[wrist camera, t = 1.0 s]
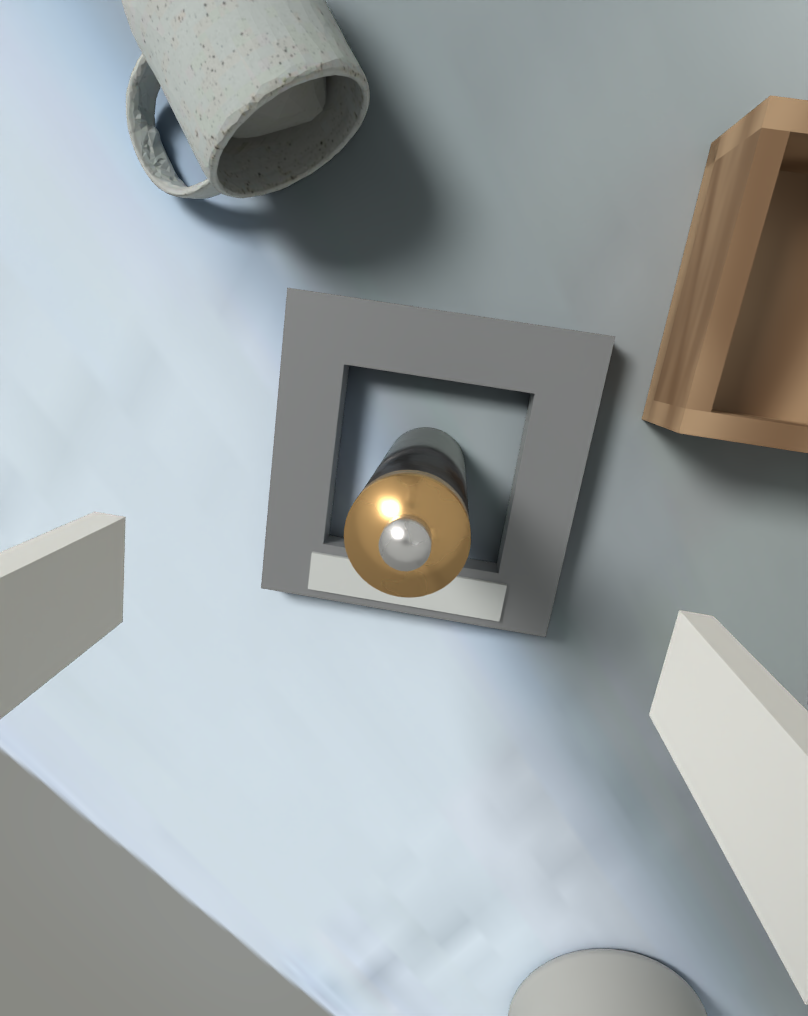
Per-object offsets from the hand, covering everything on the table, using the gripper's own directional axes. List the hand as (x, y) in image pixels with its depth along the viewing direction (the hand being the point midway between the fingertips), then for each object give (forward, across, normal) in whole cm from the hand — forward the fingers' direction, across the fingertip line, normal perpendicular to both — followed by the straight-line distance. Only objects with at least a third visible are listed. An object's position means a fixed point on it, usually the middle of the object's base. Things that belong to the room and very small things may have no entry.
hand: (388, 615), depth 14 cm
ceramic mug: (+17, -10, +15) cm, 25 cm away
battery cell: (+17, 0, 0) cm, 17 cm away
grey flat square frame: (+17, 0, 0) cm, 17 cm away
